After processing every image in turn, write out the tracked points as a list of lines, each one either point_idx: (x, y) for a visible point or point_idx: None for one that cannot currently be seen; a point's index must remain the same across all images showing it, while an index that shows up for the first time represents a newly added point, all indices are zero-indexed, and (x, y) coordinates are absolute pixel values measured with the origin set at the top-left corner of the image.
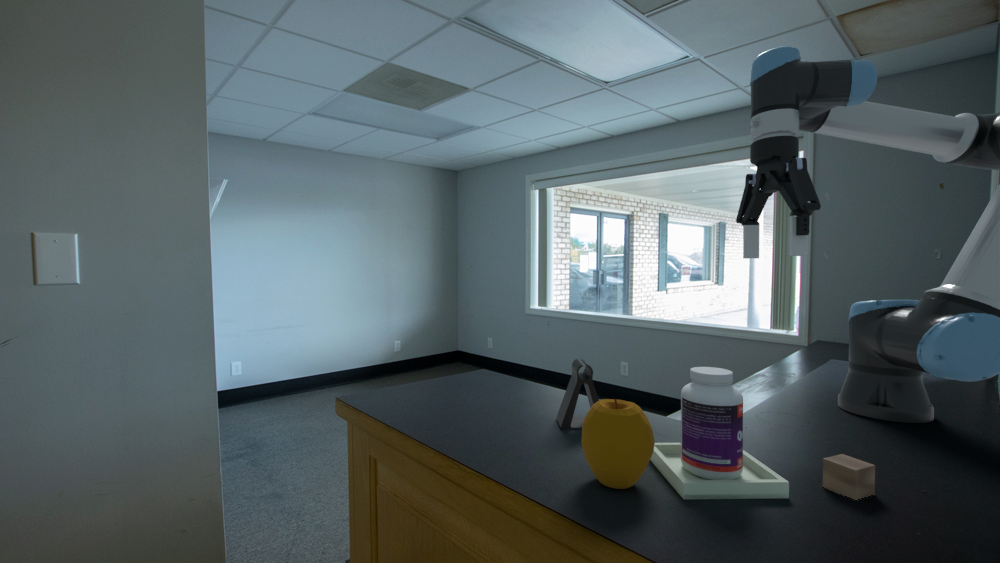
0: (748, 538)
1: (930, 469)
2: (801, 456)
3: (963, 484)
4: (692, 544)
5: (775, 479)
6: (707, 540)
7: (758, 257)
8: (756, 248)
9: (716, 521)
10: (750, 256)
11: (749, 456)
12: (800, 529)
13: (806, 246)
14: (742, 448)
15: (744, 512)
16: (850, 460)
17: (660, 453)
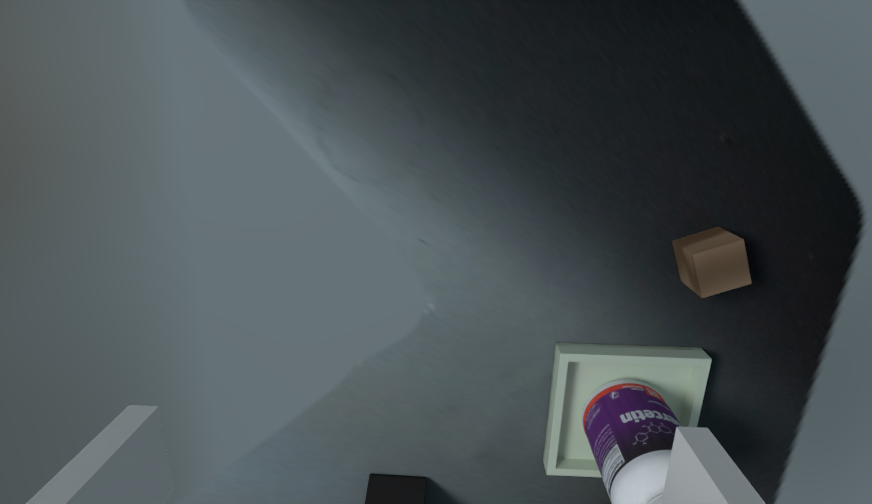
0: (766, 440)
1: (661, 42)
2: (574, 233)
3: (721, 44)
4: (761, 493)
5: (700, 371)
6: (758, 478)
7: (155, 413)
8: (113, 481)
9: (728, 453)
10: (159, 470)
11: (621, 360)
12: (766, 380)
13: (739, 483)
14: (668, 409)
15: (718, 416)
16: (718, 261)
17: (589, 472)
